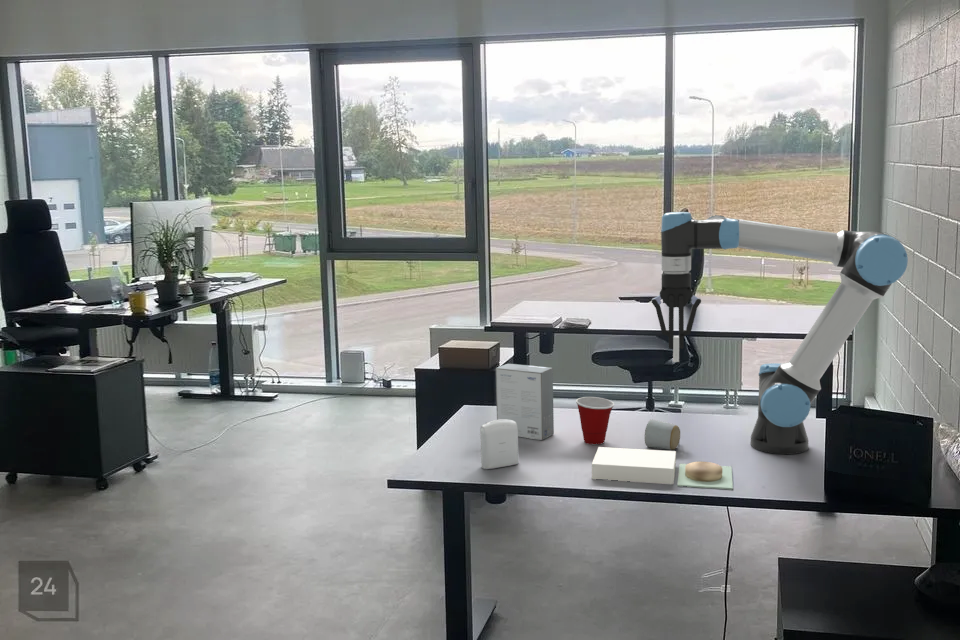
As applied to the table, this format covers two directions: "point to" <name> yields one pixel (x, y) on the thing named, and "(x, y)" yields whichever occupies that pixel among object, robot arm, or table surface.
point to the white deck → (634, 465)
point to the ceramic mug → (662, 435)
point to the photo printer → (499, 444)
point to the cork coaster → (703, 471)
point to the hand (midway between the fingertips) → (676, 360)
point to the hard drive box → (526, 399)
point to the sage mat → (719, 484)
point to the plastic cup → (594, 418)
